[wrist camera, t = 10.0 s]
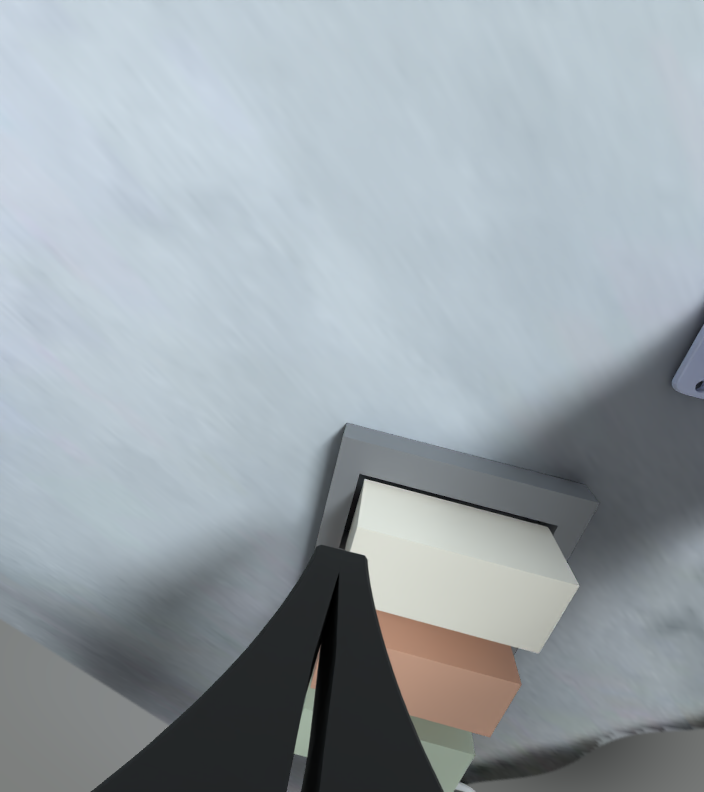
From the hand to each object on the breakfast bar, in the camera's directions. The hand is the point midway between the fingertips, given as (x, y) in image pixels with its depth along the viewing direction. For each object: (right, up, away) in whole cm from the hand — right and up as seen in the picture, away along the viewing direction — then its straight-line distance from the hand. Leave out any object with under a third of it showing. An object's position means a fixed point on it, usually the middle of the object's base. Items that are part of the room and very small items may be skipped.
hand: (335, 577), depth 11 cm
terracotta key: (+4, -7, +11) cm, 14 cm away
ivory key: (+5, -2, +9) cm, 10 cm away
